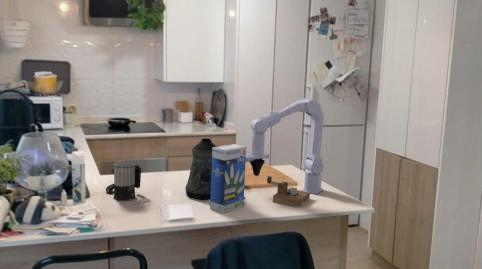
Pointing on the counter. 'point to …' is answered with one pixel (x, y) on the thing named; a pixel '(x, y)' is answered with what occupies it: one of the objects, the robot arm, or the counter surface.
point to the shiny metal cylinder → (292, 191)
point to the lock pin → (269, 180)
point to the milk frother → (125, 181)
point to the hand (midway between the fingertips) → (256, 175)
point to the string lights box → (228, 177)
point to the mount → (288, 199)
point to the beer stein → (200, 171)
